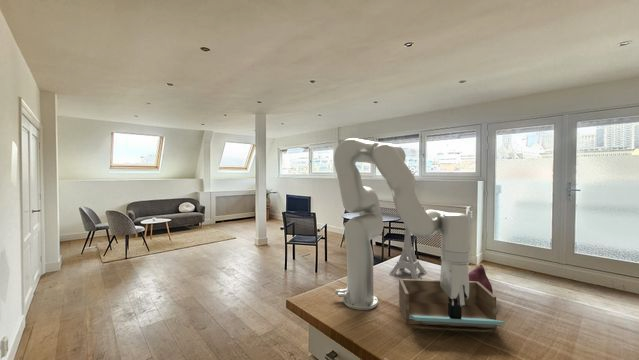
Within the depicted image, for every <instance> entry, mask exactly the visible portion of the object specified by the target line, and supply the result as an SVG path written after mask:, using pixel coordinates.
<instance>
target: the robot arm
mask: <svg viewBox="0 0 639 360" xmlns="http://www.w3.org/2000/svg"><path fill="white" fill-rule="evenodd" d="M333 163H334V168H335V171H336V175H337V180H338V181H337V182H338V185H339V186H338V188H339V191H340V195H341V201H342V206H343V208H344V210H345V211H346V212H348V213H351V214H357V213H358V216H354V217H351V218H350V219H349V220H347V222H346V223H345V225H344V228H343V229H344V230H343V232H344V234H343V235H344V239H345V245H346V267H347V268H346V270H347V273H346V274H347V275H346V276H347V277H346V281H347V282H346V283H347V284H346V288H343V289H340V288H335V290H334V293H335V295H337V297H338V298H342V299H343V300H342V301H343V303H344V305H345V306H347V307H348V308H350V309H354V310H358V311H368V310H372V309H375V308H376V307H377V306H378V305H379V299H378V298H377V296H376V295H374V291H375V289H374V250H373V247H372V244H371V240H373V239H375V238H377V237H379V236H380V235H382V233H383V230H384V218H383V215H382V210H381V206H380V200H379V197H378V195H377V192H376V191H375V190H374V189H373V188H371V187H370V186H365V185H364V184H363V181H362V176H361V172H360V170H359V168H358V167H357V165H356V163H366V164H367V163H368V164H372V165H375V167H376V168H377V170H378V171H379V173H380V175H381V176H382V178H383V179H384V181H385V182H386V184H387V186H388V187H389V189H390V191H391V193H392V200H393V203H394V207H395V210H396V211H397V214H398V216H399V218H400V219H401V220H402V222H403V224H404V225H405V227H407V228H408V230H409V231H410V234H412V235H413V236H415V237H417V238H419V239H426V238H430V237H431V236H433V235H436V234H437V235H438V234H440V259H441V263H440V277H439V280H440V286H441V288H442V289H443V290H444V292H445V293H446V294H447V295H448V302H450V303H448V316H449V317H450V318H451V319H461V317H462V305H463V306H464V305H465V302H464V299H466V300H467V299H468V298H469V265H468V264H470V263H471V261H470V260H471V259H470V258H471V257H470V256H471V240H470V239H471V218H470V217H469V215H467V214H466V213H464V212H463V213H461V212H447V211H442V210H437V209H436V210H435V209H426V210H425V208H424V207H423V206H422V204H421V202H420V201H419V199H418V197H417V196H418V195H416V191H415V184H416V178H415V177H416V176H414V174H413V173H412V171H411V169H410V168H409V167H408V166H407V164H406V153H405V150H404V148H402V147H401V146H400V145H397V144H394V143H388V142H384V143H383V142H377V141H372V140H367V139H361V138H354V137H351V138H346V139H345V140H342V141H341V142H340V143H339V144H338V145H337V146H336V148H335V151H334V154H333Z"/></svg>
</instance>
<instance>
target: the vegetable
mask: <svg viewBox="0 0 639 360" xmlns="http://www.w3.org/2000/svg"><path fill="white" fill-rule="evenodd" d="M468 273H469V281H478V282H479V283H480V284H482V285H483V286H484V287H485V288H486V289H487V290H489V291H490V292H491V293H492V294H493V293H494V292H493V287H492V284H491V282H490V279H489V277H488V276H487V273H486V269H485V267H484V265H482V264H480V265H476V267H475V268H473V269H472V270H471V271H468ZM493 295H494V294H493Z"/></svg>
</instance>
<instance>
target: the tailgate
mask: <svg viewBox="0 0 639 360" xmlns="http://www.w3.org/2000/svg"><path fill="white" fill-rule="evenodd" d="M410 318H411V319H413V320H416V321H421V323H433V324H452V325H471V326H490V327H496V328H497V327H498V326H499V325H500V326H506V323H505V322H506V321H504V320H497V319H496V320H493V319H480V318H461V319H451V318H450V317H439V316H418V315H410Z"/></svg>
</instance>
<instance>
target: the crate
mask: <svg viewBox="0 0 639 360" xmlns="http://www.w3.org/2000/svg"><path fill="white" fill-rule="evenodd" d="M398 295H399V296H398V305H399V309H400V311H401V314H402V317H403V319H404V323H405V324H411V325H428V326H429V325H430V326H431V325H432V326H445V327H446V326H447V327H449V326H450V327H451V326H452V327H466V328H467V327H469V328H486V329H488V328H489V329H497V327H490V326H471V325H452V324H433V323H421V321H416V320H413V319H411V318H410V315H418V316H439V317H449V316H448V303H450V302H448V295H447V294H446V293H445V292H444V290H443V289H442V288H441V286H440V279H420V278H419V279H412V278H411V279H410V278H399V279H398ZM464 302H465V305H464V306H463V305H462V317H461V318H480V319H493V320H497V296H496V295H495V294H492V293H491V292H490V291H489V290H487V289H486V288H485V287H484V286H483V285H482V284H480V283H479V282H478V281H469V298H468V299H467V300H466V299H464Z"/></svg>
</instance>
